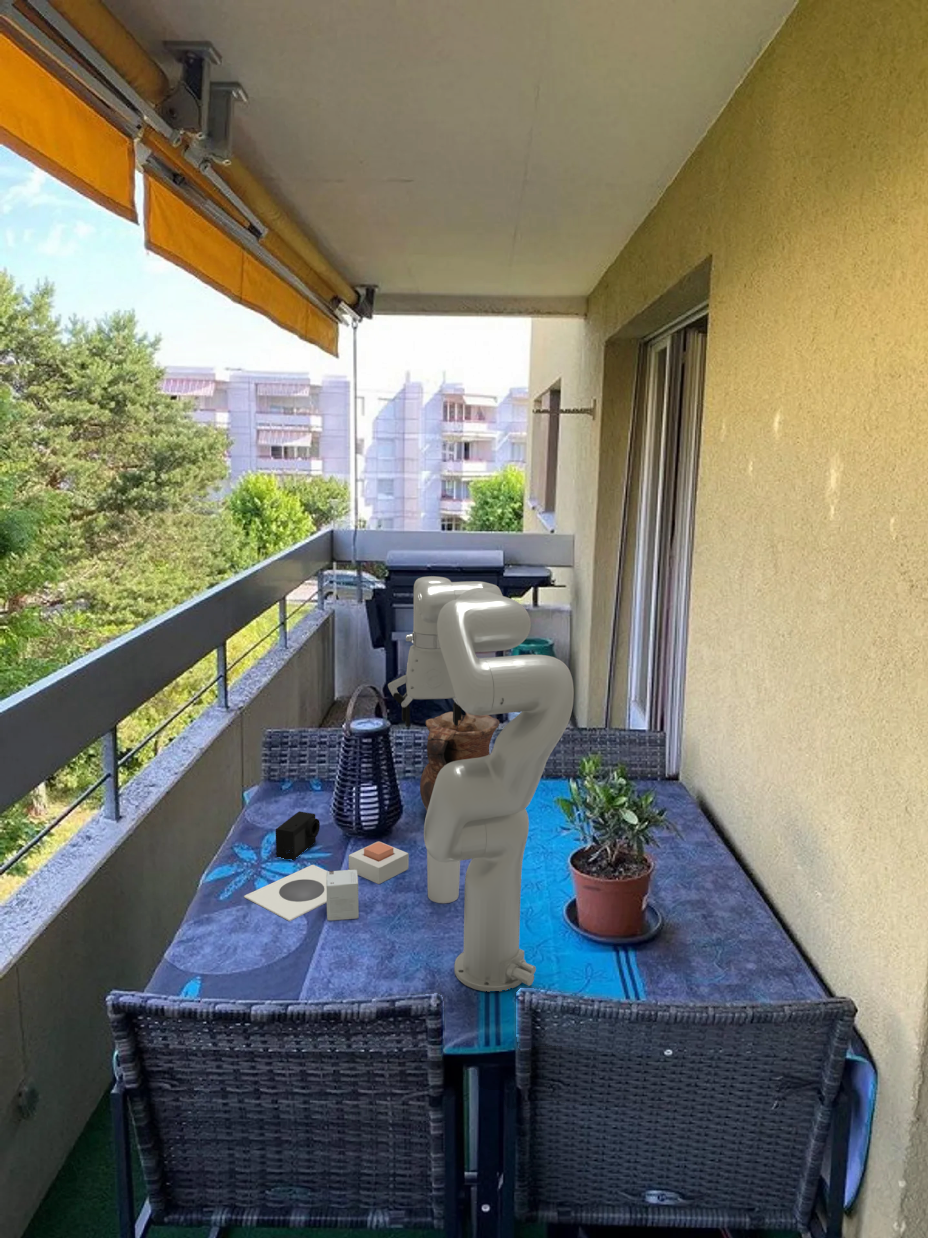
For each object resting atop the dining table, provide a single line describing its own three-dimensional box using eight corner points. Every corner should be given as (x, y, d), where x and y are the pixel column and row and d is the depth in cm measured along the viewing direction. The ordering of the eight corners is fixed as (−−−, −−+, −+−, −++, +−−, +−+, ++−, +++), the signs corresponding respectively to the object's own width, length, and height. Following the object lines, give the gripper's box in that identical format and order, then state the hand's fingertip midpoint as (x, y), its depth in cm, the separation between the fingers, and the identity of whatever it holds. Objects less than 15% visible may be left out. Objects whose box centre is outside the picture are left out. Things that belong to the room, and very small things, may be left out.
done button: (393, 858, 188) (393, 847, 188) (378, 865, 185) (378, 854, 185) (378, 852, 191) (378, 841, 191) (364, 859, 188) (364, 848, 187)
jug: (428, 797, 228) (428, 704, 224) (508, 803, 226) (511, 709, 221) (411, 833, 207) (411, 731, 202) (500, 840, 204) (502, 736, 199)
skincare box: (359, 919, 169) (358, 883, 167) (326, 921, 168) (326, 885, 166) (357, 903, 175) (357, 868, 173) (326, 905, 174) (326, 870, 172)
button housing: (408, 869, 189) (408, 853, 188) (378, 884, 182) (378, 868, 182) (378, 856, 195) (378, 841, 194) (348, 870, 188) (348, 855, 187)
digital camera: (298, 862, 191) (297, 832, 190) (276, 858, 193) (275, 828, 192) (320, 843, 201) (320, 814, 200) (299, 839, 203) (299, 810, 201)
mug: (455, 906, 174) (456, 849, 172) (422, 902, 175) (423, 845, 173) (466, 882, 184) (467, 828, 181) (435, 878, 185) (436, 825, 183)
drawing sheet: (358, 886, 181) (358, 884, 181) (289, 921, 167) (289, 919, 167) (312, 865, 190) (312, 864, 190) (244, 897, 176) (243, 895, 176)
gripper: (389, 645, 167) (388, 731, 171) (479, 644, 170) (477, 729, 173) (387, 636, 175) (387, 719, 178) (473, 635, 177) (471, 717, 180)
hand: (431, 724), depth 175 cm, fingers open, 9 cm apart
